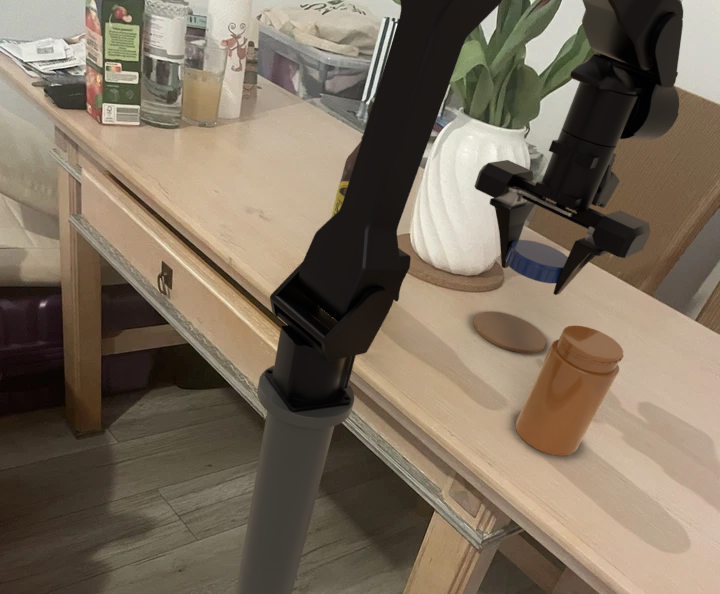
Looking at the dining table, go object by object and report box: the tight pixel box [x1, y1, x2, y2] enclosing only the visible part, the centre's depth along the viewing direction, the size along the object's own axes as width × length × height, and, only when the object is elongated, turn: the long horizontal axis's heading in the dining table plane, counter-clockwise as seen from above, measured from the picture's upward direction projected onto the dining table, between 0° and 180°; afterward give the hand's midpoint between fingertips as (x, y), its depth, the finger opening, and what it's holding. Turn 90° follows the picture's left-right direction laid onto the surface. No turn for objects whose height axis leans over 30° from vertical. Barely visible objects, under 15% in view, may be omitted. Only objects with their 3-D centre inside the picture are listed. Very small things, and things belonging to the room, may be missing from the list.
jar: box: [515, 325, 625, 456], centre depth 65 cm, size 6×6×11 cm
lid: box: [505, 239, 568, 284], centre depth 78 cm, size 7×7×2 cm
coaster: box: [473, 311, 547, 354], centre depth 84 cm, size 9×9×1 cm
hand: (530, 280), depth 80 cm, fingers closed on lid, 7 cm apart
